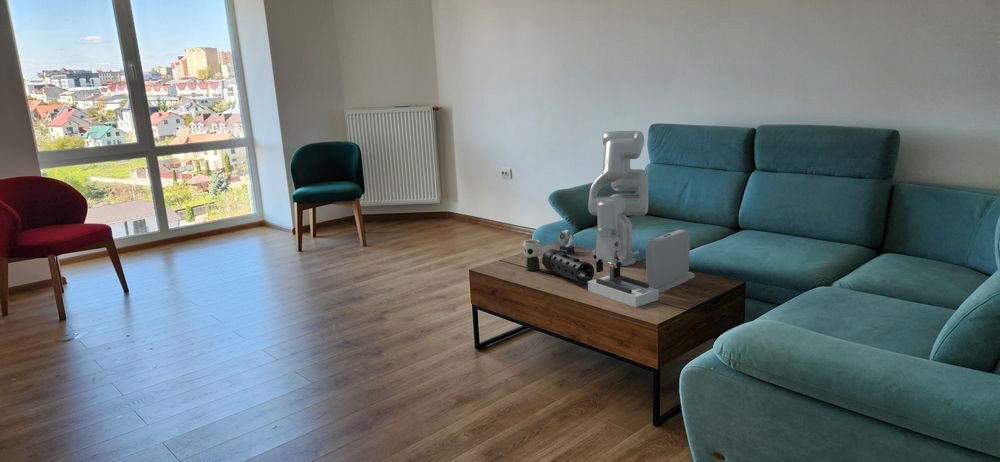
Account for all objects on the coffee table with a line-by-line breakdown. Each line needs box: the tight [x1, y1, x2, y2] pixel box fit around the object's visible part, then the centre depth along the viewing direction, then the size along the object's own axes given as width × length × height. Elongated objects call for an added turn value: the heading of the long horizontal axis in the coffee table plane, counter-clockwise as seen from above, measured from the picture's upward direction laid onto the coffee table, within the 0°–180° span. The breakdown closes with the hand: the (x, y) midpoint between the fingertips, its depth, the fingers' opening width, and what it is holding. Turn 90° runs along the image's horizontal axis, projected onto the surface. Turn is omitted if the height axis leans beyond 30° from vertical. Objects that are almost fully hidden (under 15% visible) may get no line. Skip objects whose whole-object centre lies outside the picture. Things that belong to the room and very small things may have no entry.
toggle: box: [608, 263, 622, 284], centre depth 258 cm, size 4×4×8 cm
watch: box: [557, 229, 575, 255], centre depth 320 cm, size 6×8×11 cm
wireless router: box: [645, 229, 696, 294], centre depth 267 cm, size 31×10×20 cm, turn 134°
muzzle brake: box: [541, 248, 595, 286], centre depth 281 cm, size 10×28×10 cm, turn 27°
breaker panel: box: [587, 274, 659, 308], centre depth 256 cm, size 12×26×4 cm, turn 34°
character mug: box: [522, 239, 542, 271], centre depth 295 cm, size 11×7×13 cm, turn 42°
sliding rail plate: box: [595, 274, 649, 294], centre depth 255 cm, size 10×18×2 cm, turn 34°
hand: (608, 274), depth 261 cm, fingers open, 9 cm apart
